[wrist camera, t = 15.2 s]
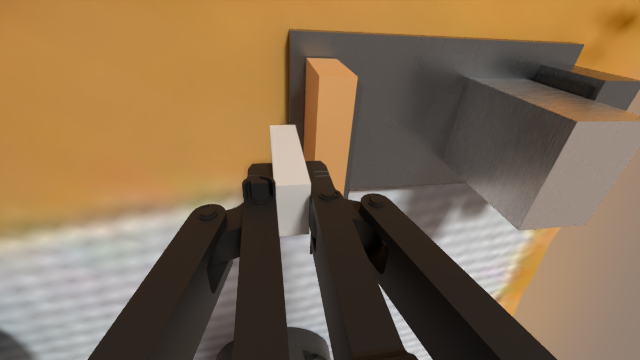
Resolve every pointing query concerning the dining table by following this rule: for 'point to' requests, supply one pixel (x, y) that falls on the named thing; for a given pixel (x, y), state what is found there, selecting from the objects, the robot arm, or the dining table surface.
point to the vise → (431, 92)
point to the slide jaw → (331, 118)
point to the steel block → (539, 150)
